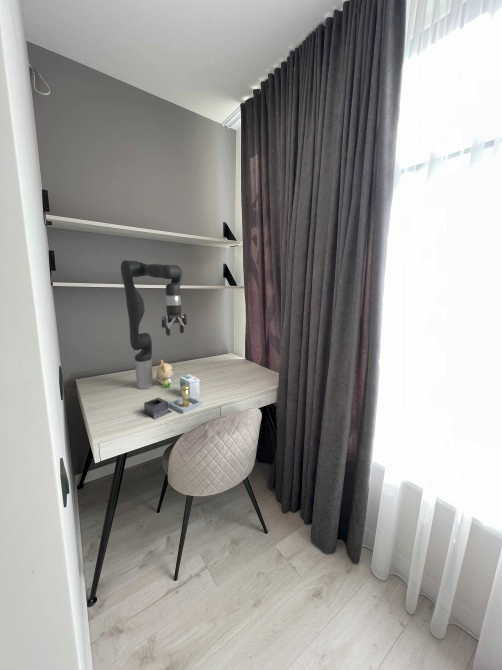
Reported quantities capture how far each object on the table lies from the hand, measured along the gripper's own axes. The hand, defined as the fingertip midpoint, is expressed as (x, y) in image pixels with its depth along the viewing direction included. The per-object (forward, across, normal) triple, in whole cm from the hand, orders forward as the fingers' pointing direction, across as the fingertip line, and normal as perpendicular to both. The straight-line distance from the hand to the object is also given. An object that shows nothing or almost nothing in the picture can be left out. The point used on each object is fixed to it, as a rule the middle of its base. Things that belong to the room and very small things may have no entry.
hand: (175, 334), depth 146 cm
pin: (+36, +6, +14) cm, 39 cm away
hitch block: (+36, +19, +8) cm, 42 cm away
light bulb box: (+36, -5, +4) cm, 37 cm away
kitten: (+36, -6, -21) cm, 42 cm away
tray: (+36, +6, +14) cm, 39 cm away
